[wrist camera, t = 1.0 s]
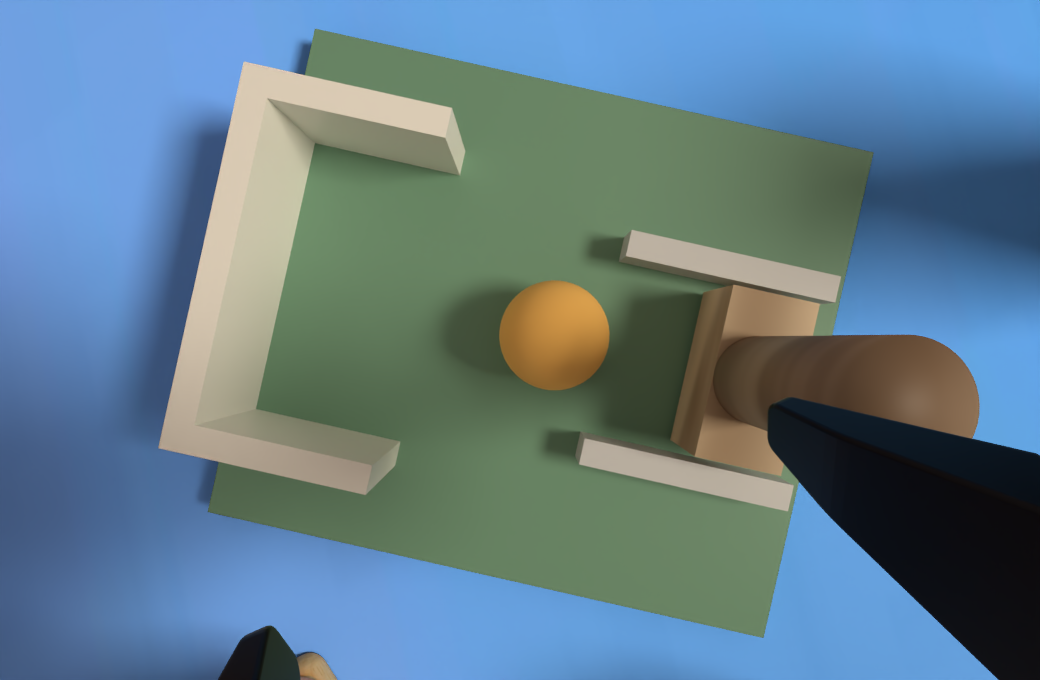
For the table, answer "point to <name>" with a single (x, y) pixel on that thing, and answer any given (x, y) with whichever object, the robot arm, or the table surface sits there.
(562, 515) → the pitch
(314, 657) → the grandmother figurine
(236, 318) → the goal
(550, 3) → the table surface
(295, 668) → the robot arm
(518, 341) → the ball
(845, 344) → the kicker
